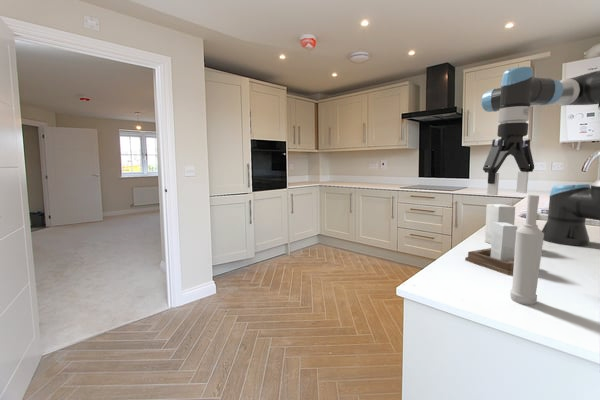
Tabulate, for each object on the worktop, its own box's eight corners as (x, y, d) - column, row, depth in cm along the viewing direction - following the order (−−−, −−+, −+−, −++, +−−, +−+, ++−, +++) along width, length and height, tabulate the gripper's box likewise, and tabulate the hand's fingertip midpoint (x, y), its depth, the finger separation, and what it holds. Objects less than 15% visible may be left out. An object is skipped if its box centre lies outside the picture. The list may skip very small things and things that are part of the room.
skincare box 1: (513, 247, 117) (517, 206, 115) (495, 247, 117) (499, 206, 115) (499, 241, 126) (502, 203, 124) (483, 241, 126) (486, 203, 124)
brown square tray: (493, 255, 107) (494, 246, 107) (538, 268, 95) (539, 258, 94) (465, 260, 102) (465, 251, 102) (507, 274, 89) (508, 264, 89)
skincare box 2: (514, 264, 95) (518, 226, 94) (500, 264, 95) (503, 226, 94) (503, 258, 101) (506, 222, 100) (489, 257, 101) (492, 222, 100)
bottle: (512, 293, 77) (522, 193, 74) (538, 300, 73) (549, 195, 70) (507, 300, 73) (517, 195, 70) (534, 307, 70) (546, 197, 66)
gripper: (497, 119, 84) (491, 197, 87) (552, 123, 94) (545, 192, 97) (472, 122, 91) (467, 194, 94) (526, 125, 101) (520, 190, 104)
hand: (507, 193), depth 95 cm, fingers open, 13 cm apart
